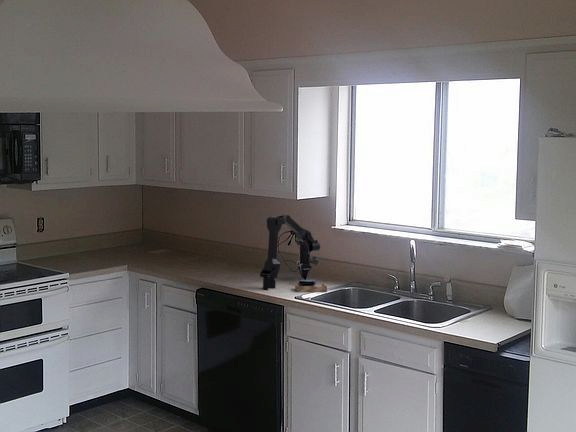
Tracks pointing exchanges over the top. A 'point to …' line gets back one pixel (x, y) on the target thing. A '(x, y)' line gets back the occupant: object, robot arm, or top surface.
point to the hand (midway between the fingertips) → (303, 279)
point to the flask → (307, 282)
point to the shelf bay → (311, 288)
